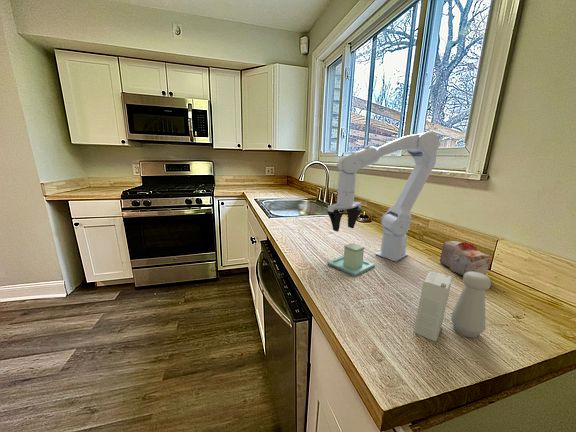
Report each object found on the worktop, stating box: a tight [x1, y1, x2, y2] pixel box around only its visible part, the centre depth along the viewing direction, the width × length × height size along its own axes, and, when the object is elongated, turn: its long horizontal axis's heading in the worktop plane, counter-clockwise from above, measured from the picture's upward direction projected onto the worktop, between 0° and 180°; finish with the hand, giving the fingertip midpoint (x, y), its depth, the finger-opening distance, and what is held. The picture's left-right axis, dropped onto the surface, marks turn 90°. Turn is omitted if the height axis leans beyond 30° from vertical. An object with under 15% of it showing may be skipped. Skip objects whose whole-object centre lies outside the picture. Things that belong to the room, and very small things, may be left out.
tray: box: [326, 255, 376, 278], centre depth 79 cm, size 11×11×1 cm
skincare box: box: [413, 271, 453, 342], centre depth 48 cm, size 6×4×12 cm
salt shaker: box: [450, 272, 492, 339], centre depth 48 cm, size 6×6×13 cm
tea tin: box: [343, 242, 365, 270], centre depth 78 cm, size 5×5×7 cm
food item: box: [439, 240, 492, 277], centre depth 76 cm, size 14×8×10 cm, turn 5°
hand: (343, 229), depth 85 cm, fingers open, 7 cm apart
